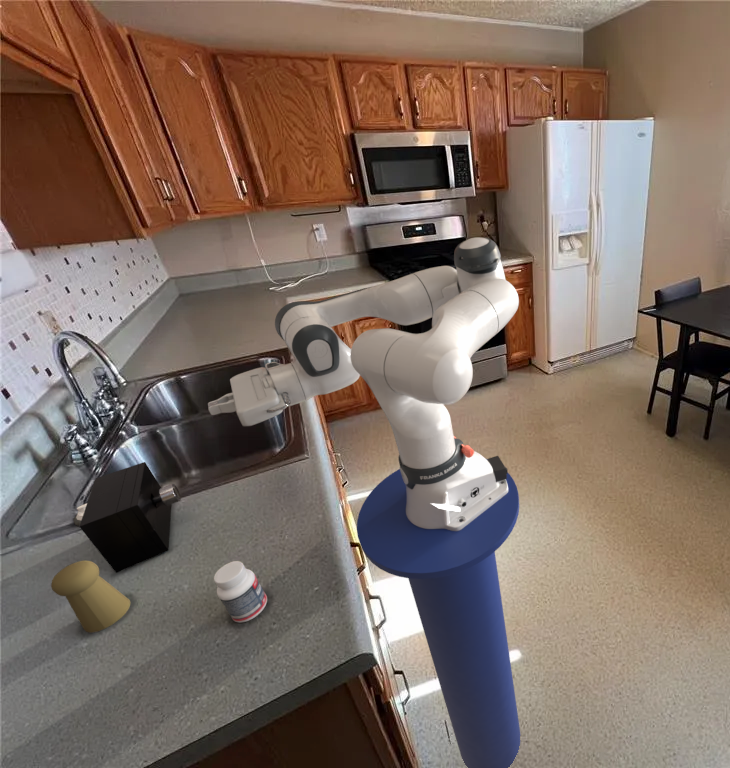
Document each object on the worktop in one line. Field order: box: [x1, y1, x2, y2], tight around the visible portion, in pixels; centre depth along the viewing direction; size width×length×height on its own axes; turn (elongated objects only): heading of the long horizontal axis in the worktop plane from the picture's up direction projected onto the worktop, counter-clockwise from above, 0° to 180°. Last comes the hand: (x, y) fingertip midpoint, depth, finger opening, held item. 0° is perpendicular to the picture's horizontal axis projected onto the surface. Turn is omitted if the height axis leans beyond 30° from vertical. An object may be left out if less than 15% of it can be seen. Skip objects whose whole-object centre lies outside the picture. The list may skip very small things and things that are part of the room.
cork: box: [50, 560, 131, 634], centre depth 66 cm, size 6×6×11 cm
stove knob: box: [73, 503, 87, 527], centre depth 90 cm, size 7×7×3 cm
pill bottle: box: [213, 560, 268, 624], centre depth 66 cm, size 5×5×9 cm
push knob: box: [150, 483, 182, 506], centre depth 83 cm, size 5×4×4 cm
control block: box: [78, 461, 173, 574], centre depth 81 cm, size 8×16×12 cm, turn 35°
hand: (209, 409), depth 83 cm, fingers closed
